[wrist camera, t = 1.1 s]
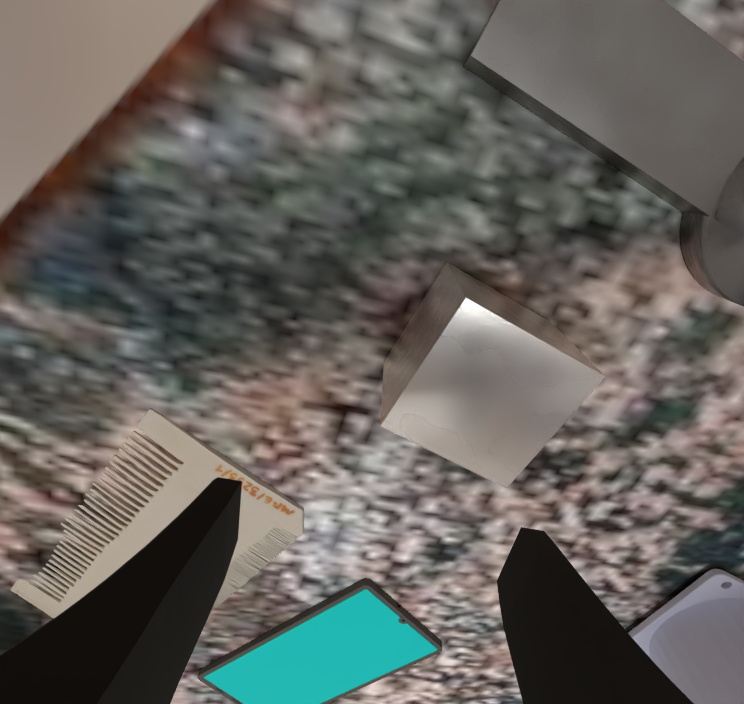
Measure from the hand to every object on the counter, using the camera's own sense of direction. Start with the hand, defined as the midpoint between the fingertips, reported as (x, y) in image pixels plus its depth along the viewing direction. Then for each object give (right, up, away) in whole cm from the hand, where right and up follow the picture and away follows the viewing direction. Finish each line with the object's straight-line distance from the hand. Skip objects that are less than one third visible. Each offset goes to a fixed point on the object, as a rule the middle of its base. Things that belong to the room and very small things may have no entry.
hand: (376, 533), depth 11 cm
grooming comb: (-13, -7, +14) cm, 20 cm away
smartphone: (-4, -15, +17) cm, 23 cm away
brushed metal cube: (+4, +5, +7) cm, 9 cm away
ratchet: (+11, +12, +4) cm, 17 cm away
